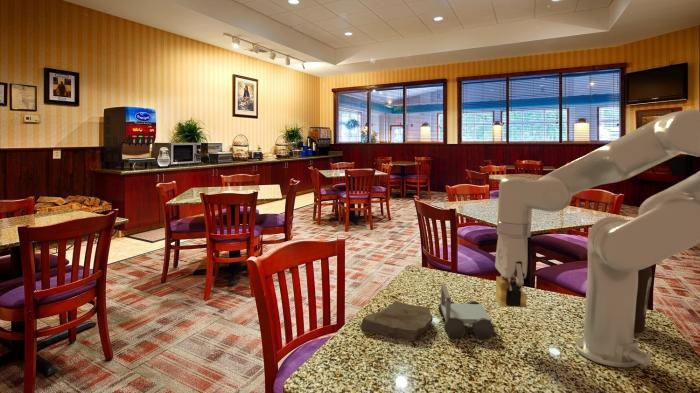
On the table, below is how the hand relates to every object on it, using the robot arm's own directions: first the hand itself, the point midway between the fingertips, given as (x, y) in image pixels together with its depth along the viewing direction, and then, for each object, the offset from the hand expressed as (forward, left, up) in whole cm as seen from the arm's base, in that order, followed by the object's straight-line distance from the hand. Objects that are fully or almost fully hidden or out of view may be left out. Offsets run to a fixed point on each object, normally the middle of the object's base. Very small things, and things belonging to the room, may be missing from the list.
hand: (509, 300), depth 99 cm
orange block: (0, 0, -1) cm, 1 cm away
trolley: (+9, +6, -10) cm, 15 cm away
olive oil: (-7, -33, -10) cm, 35 cm away
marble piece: (+17, +21, -10) cm, 29 cm away
